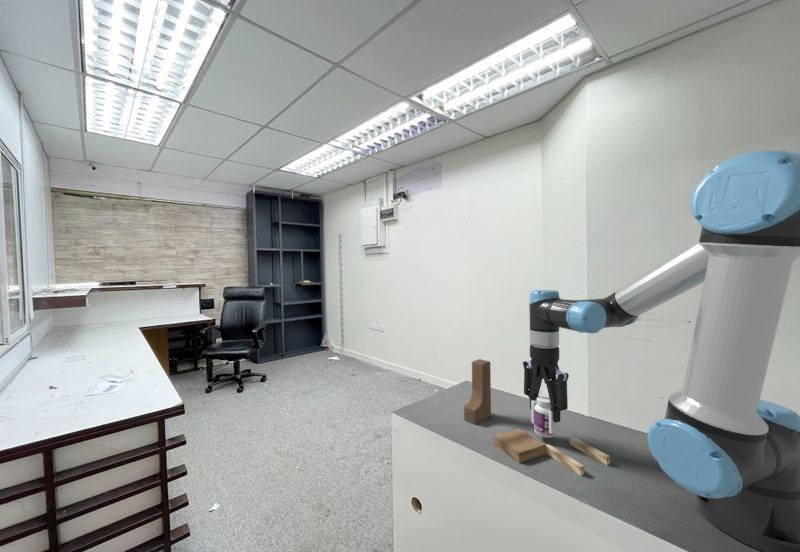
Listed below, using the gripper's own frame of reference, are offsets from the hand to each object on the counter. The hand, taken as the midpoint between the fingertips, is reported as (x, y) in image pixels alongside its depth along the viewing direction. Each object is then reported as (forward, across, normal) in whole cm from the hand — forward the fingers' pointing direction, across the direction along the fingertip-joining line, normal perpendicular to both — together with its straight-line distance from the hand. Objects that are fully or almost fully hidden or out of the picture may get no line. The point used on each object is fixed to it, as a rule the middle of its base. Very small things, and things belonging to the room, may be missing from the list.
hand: (544, 426), depth 86 cm
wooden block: (+4, +18, +9) cm, 21 cm away
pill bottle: (+2, 0, 0) cm, 2 cm away
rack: (+3, -10, 0) cm, 10 cm away
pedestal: (+3, -1, +10) cm, 11 cm away
